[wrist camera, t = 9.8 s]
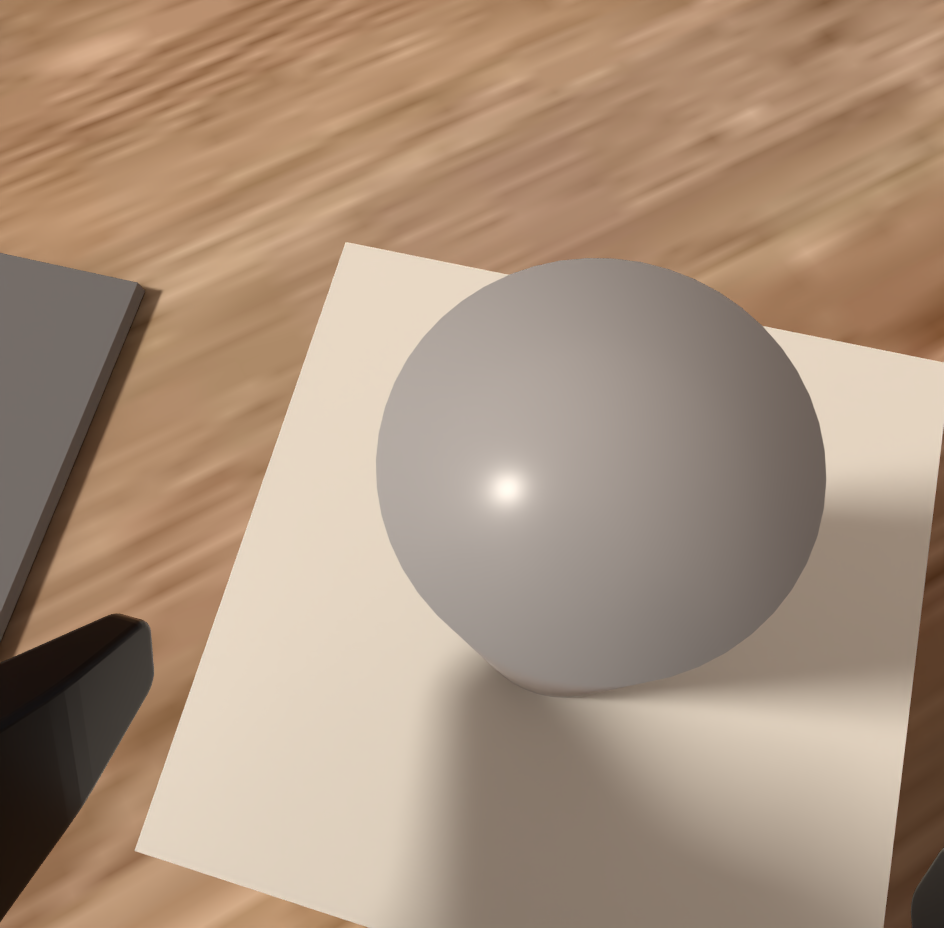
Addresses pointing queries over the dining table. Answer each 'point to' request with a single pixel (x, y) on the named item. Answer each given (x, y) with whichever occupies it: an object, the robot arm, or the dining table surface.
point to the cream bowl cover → (566, 613)
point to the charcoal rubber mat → (49, 393)
